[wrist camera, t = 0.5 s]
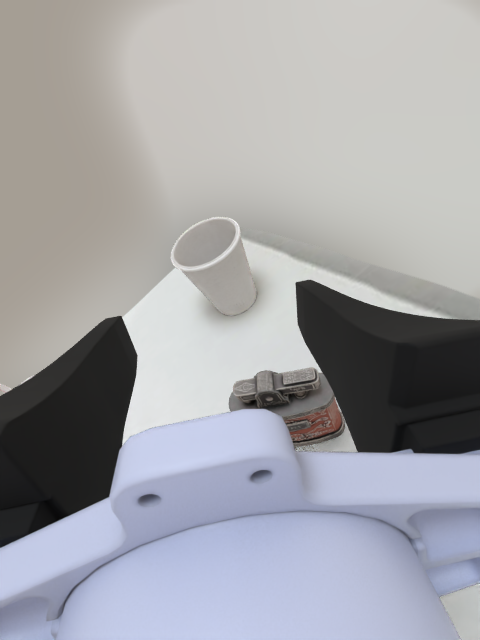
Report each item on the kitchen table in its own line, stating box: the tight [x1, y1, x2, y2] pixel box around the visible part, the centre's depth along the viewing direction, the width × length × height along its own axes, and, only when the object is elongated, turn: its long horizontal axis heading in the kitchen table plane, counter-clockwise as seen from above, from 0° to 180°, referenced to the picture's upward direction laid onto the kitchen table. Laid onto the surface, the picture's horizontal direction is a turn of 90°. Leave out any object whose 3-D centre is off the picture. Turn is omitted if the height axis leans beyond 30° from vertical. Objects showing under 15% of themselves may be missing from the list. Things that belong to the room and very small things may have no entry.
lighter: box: [229, 368, 345, 447], centre depth 25 cm, size 8×3×10 cm, turn 91°
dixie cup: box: [171, 217, 257, 316], centre depth 38 cm, size 8×8×10 cm
